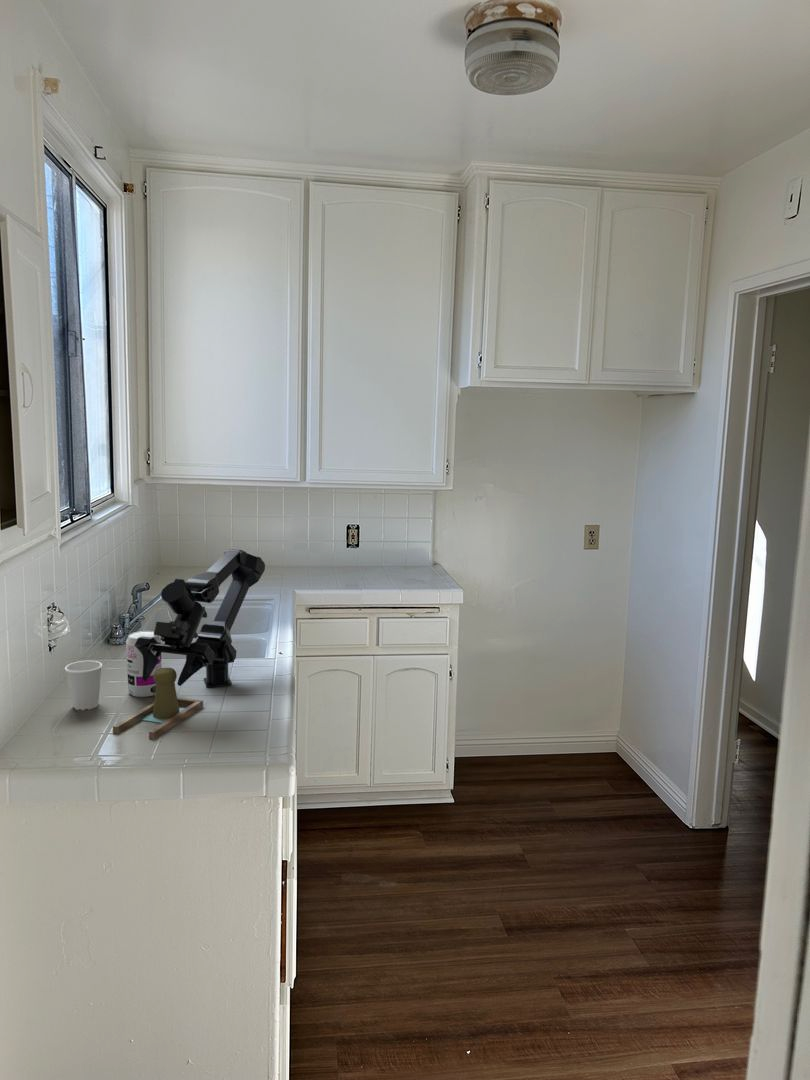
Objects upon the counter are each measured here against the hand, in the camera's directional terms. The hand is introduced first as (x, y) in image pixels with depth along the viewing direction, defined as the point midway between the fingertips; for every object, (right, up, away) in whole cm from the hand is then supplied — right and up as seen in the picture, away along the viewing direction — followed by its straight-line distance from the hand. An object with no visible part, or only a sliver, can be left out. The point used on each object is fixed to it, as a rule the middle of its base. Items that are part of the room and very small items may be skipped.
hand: (161, 682), depth 184 cm
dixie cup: (-21, -7, +8) cm, 23 cm away
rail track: (0, -8, 0) cm, 8 cm away
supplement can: (-9, -6, +18) cm, 21 cm away
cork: (0, -8, +3) cm, 8 cm away
